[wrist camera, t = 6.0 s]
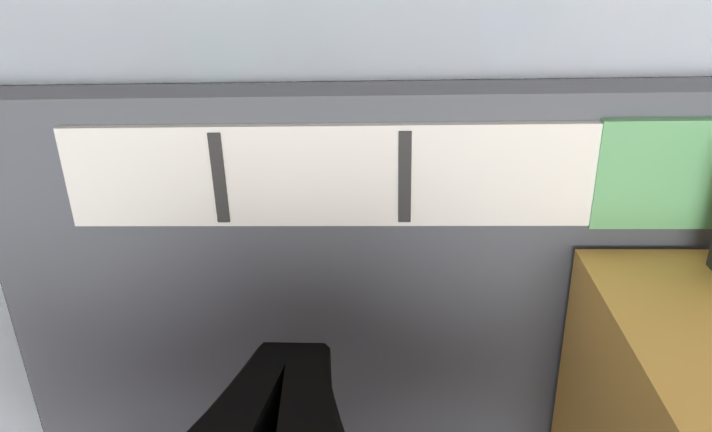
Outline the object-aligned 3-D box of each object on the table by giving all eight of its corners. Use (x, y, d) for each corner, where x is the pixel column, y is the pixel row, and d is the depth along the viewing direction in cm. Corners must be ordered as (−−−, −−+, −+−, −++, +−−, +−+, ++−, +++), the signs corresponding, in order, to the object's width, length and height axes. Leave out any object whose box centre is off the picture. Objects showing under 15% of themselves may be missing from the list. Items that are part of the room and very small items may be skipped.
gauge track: (928, 501, 16) (1169, 760, 11) (89, 485, 18) (-33, 713, 13) (1131, 71, 12) (1682, 181, 7) (-16, 85, 13) (-273, 189, 8)
